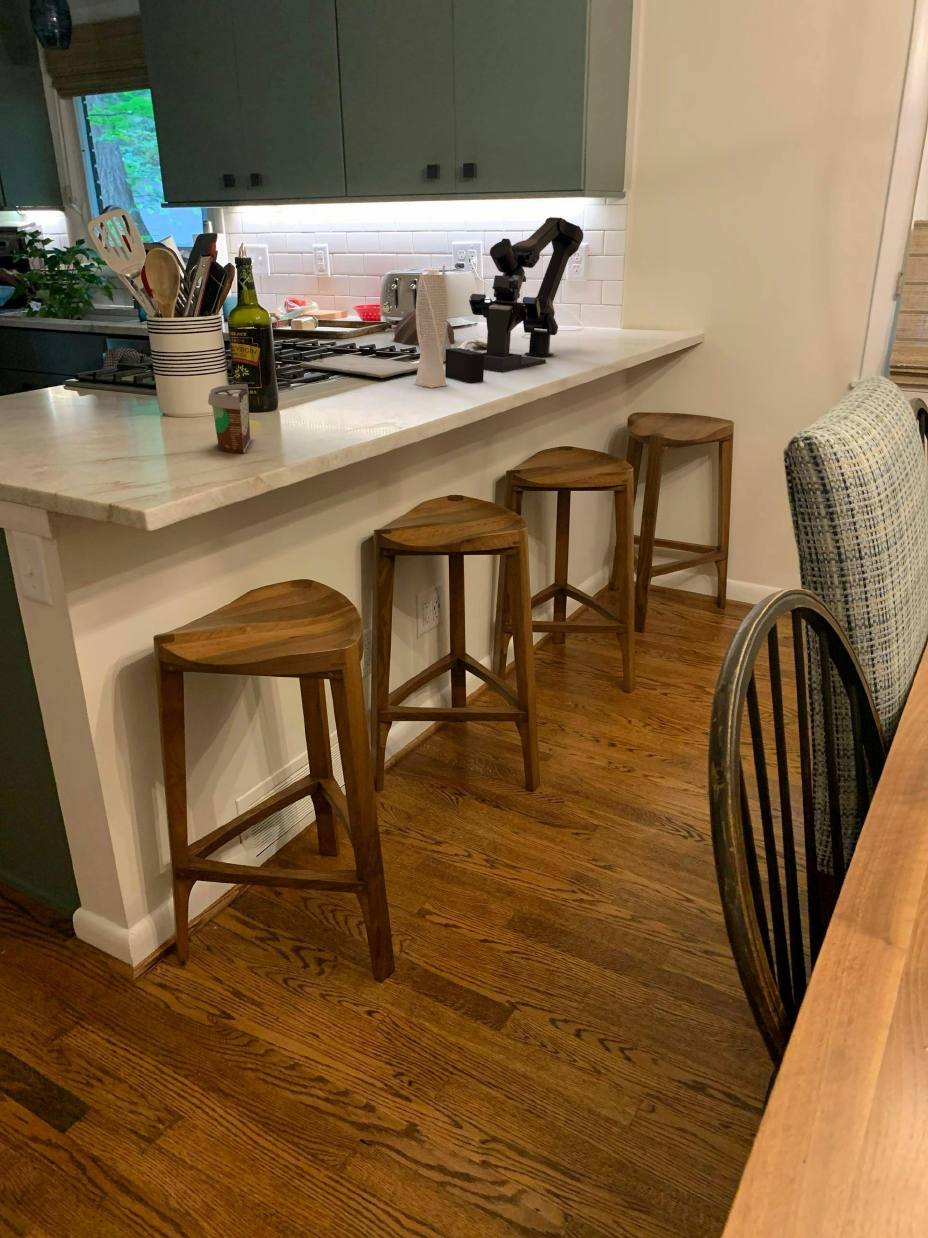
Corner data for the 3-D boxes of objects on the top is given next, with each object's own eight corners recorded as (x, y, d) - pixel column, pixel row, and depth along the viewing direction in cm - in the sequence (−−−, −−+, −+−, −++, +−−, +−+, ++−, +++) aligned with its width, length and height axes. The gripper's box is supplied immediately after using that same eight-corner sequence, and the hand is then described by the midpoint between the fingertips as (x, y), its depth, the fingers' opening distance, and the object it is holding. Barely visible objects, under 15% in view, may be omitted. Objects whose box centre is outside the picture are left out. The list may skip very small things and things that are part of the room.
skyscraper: (453, 385, 227) (456, 262, 215) (432, 389, 222) (434, 263, 210) (430, 380, 231) (432, 260, 220) (409, 384, 226) (409, 261, 215)
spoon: (432, 356, 267) (432, 343, 266) (482, 343, 293) (482, 332, 292) (460, 359, 263) (460, 346, 262) (508, 346, 290) (508, 334, 288)
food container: (217, 438, 172) (213, 383, 168) (251, 438, 172) (247, 383, 168) (206, 455, 160) (201, 396, 156) (242, 455, 161) (238, 396, 157)
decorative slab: (297, 369, 240) (297, 361, 240) (348, 359, 257) (348, 352, 256) (384, 382, 228) (384, 373, 227) (431, 370, 245) (431, 363, 244)
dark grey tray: (498, 356, 271) (499, 343, 270) (545, 362, 263) (546, 350, 261) (453, 364, 255) (454, 351, 253) (502, 372, 246) (503, 358, 245)
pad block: (491, 353, 254) (494, 304, 249) (509, 355, 253) (512, 305, 248) (486, 356, 250) (489, 305, 245) (503, 358, 249) (507, 307, 243)
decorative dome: (380, 340, 294) (379, 306, 289) (422, 334, 307) (423, 303, 303) (425, 347, 282) (425, 313, 278) (467, 341, 296) (468, 308, 292)
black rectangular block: (487, 381, 234) (488, 352, 231) (470, 383, 230) (471, 354, 228) (461, 374, 241) (462, 346, 238) (445, 376, 238) (445, 348, 235)
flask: (456, 358, 264) (457, 322, 260) (453, 362, 258) (454, 325, 254) (431, 357, 265) (431, 321, 261) (427, 361, 258) (428, 324, 254)
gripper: (472, 261, 248) (458, 309, 243) (540, 264, 243) (527, 313, 238) (479, 290, 258) (466, 336, 253) (545, 294, 253) (533, 341, 248)
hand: (497, 331), depth 248 cm, fingers closed on pad block, 5 cm apart
